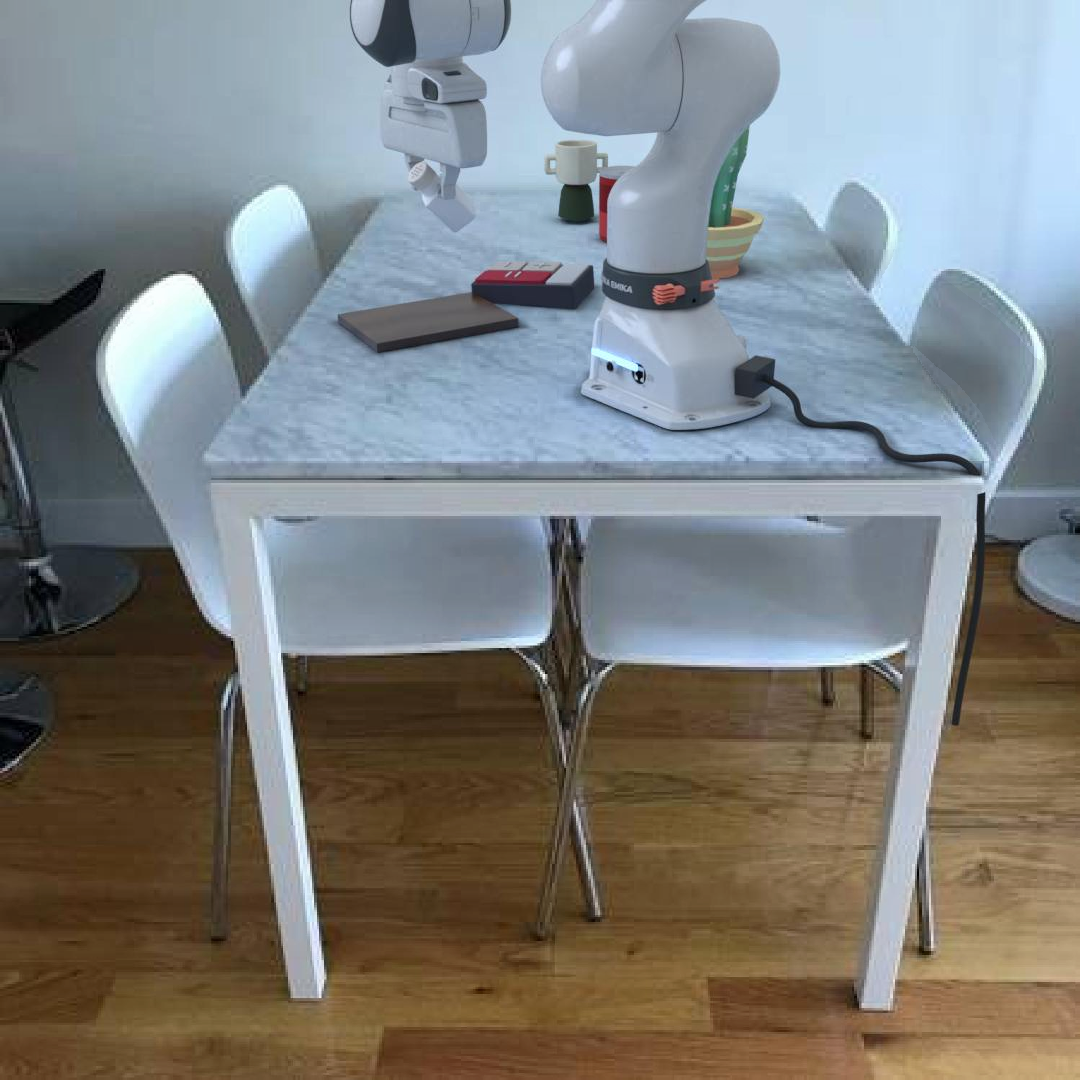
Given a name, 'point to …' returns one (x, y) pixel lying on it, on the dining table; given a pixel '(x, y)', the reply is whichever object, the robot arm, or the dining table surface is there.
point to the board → (426, 321)
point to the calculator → (536, 284)
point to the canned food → (607, 193)
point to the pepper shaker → (448, 211)
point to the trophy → (576, 176)
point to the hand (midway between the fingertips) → (433, 194)
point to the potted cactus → (730, 217)
